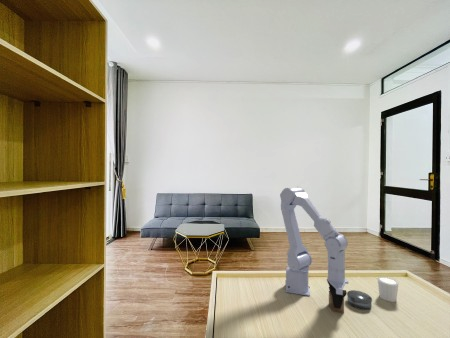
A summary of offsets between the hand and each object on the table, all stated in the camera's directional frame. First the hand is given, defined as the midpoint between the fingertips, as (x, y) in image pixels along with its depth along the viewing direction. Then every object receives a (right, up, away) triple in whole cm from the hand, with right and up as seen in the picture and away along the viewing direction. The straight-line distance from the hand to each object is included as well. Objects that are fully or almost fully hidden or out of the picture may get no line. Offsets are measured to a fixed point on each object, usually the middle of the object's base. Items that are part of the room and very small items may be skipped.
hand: (336, 303), depth 84 cm
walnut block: (0, -2, 0) cm, 2 cm away
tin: (+10, -2, +3) cm, 11 cm away
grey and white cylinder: (+24, -2, +7) cm, 25 cm away
